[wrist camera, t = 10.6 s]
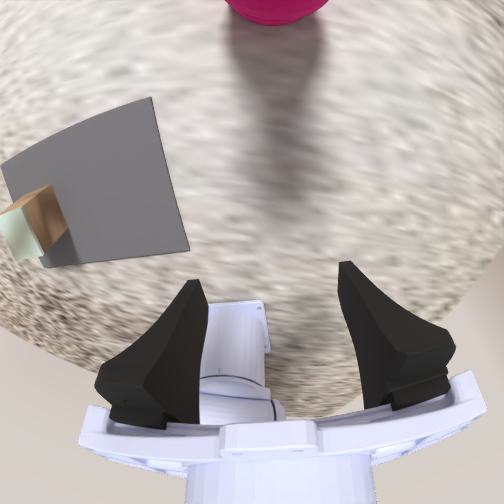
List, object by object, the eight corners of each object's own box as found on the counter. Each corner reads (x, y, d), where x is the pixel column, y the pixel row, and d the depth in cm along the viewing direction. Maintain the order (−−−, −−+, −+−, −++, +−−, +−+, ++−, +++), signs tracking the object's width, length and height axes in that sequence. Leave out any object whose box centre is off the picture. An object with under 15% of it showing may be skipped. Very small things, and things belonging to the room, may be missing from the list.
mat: (190, 248, 25) (189, 250, 25) (45, 266, 27) (44, 268, 27) (151, 96, 17) (149, 96, 17) (1, 164, 19) (0, 165, 19)
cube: (15, 260, 20) (40, 234, 24) (43, 255, 19) (68, 227, 24) (-5, 218, 17) (23, 195, 21) (20, 207, 17) (51, 184, 21)
